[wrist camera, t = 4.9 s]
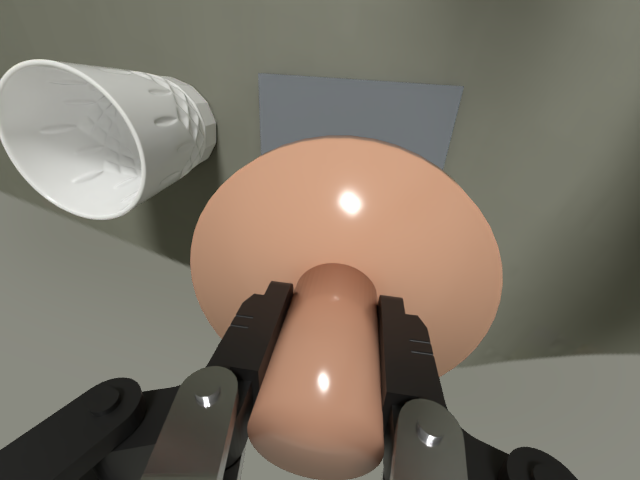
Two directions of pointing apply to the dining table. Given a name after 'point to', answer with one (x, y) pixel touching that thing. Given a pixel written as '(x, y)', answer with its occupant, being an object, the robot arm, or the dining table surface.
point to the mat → (358, 112)
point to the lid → (342, 285)
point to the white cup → (101, 133)
